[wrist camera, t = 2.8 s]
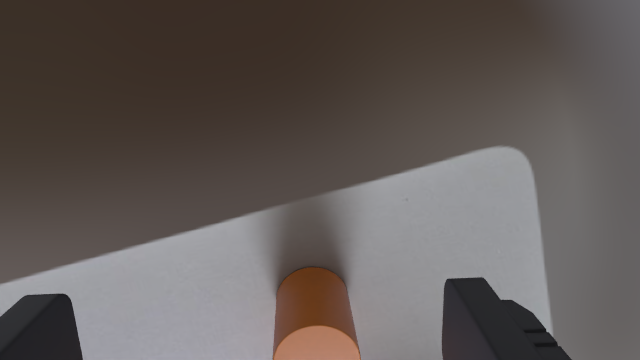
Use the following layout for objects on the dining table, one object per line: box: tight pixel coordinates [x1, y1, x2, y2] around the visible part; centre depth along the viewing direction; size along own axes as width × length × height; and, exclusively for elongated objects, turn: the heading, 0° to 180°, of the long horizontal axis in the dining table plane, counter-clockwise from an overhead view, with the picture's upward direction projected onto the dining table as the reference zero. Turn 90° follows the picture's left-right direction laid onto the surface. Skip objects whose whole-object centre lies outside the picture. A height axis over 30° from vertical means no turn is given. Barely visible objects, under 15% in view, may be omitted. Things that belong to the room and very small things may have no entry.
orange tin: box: [273, 267, 361, 360], centre depth 31 cm, size 5×5×7 cm
